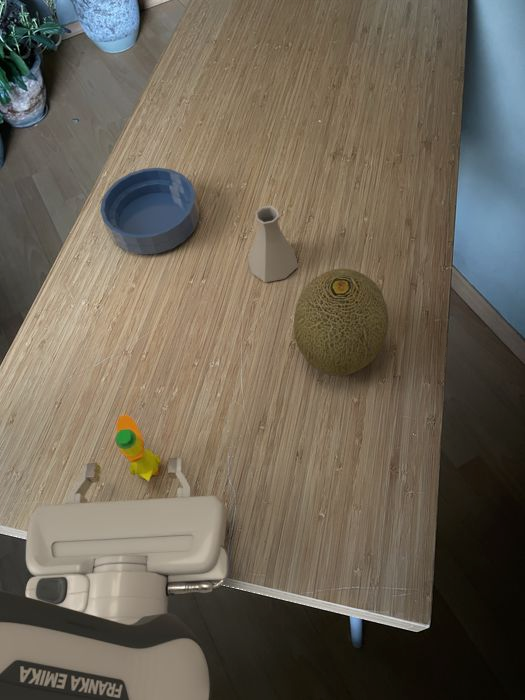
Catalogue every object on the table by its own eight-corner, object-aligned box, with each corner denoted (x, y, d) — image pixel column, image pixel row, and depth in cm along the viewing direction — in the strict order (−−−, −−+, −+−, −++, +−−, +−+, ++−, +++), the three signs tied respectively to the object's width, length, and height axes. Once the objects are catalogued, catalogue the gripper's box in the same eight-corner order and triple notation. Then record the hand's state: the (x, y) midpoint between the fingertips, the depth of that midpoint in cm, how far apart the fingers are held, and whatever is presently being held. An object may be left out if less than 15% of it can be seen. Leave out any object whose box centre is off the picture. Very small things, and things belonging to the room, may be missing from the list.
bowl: (105, 261, 89) (95, 241, 85) (114, 193, 96) (106, 172, 92) (199, 253, 88) (193, 233, 84) (201, 185, 95) (196, 163, 91)
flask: (239, 256, 87) (230, 207, 78) (283, 236, 88) (278, 186, 79) (262, 290, 83) (255, 243, 75) (306, 269, 84) (305, 220, 76)
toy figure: (129, 449, 73) (97, 407, 62) (156, 438, 73) (129, 394, 63) (144, 499, 69) (113, 463, 59) (172, 487, 70) (146, 449, 59)
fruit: (299, 315, 80) (295, 242, 68) (383, 319, 79) (395, 245, 66) (292, 390, 75) (286, 325, 62) (382, 395, 73) (395, 330, 60)
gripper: (223, 586, 54) (224, 445, 61) (7, 597, 55) (32, 457, 63) (232, 597, 60) (232, 466, 67) (35, 606, 61) (55, 476, 68)
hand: (134, 462), depth 65 cm, fingers open, 8 cm apart
